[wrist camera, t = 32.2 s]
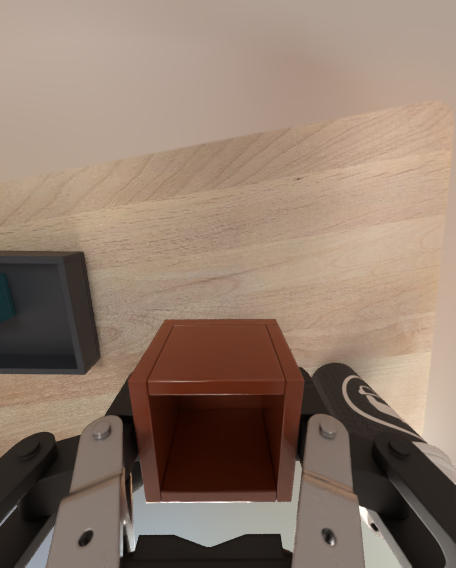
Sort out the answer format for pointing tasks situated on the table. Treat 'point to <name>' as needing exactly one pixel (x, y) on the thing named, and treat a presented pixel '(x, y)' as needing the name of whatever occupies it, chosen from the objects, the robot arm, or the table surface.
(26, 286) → the tray
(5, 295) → the box teal
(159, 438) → the box brown
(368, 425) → the coffee cup
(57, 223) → the table surface
